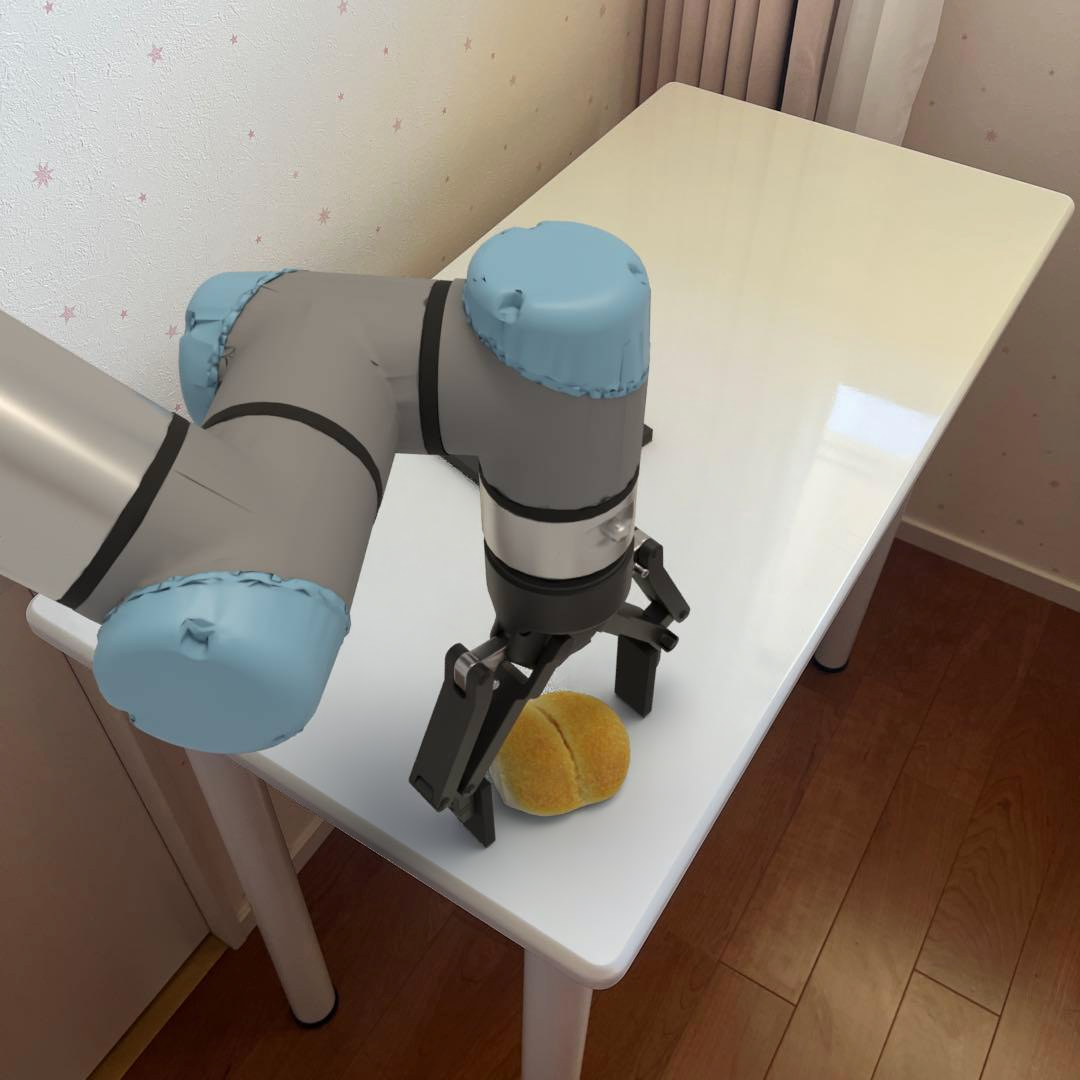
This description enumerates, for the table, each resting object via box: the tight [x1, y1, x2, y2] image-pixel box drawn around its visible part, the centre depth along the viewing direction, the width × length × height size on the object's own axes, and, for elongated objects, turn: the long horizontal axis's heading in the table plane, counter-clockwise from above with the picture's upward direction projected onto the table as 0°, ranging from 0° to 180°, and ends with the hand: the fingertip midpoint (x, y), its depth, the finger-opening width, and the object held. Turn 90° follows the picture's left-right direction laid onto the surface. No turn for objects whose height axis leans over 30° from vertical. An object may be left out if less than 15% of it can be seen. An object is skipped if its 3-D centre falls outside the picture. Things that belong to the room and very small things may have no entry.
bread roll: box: [488, 690, 631, 817], centre depth 69 cm, size 8×9×4 cm
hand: (557, 763), depth 70 cm, fingers open, 13 cm apart
